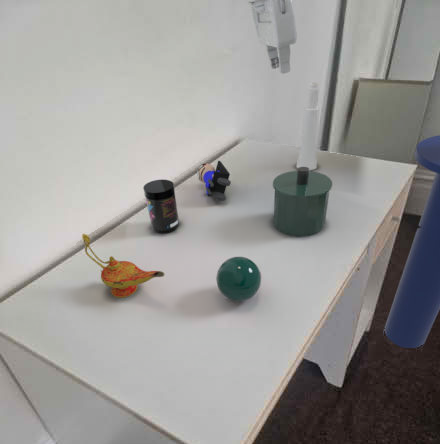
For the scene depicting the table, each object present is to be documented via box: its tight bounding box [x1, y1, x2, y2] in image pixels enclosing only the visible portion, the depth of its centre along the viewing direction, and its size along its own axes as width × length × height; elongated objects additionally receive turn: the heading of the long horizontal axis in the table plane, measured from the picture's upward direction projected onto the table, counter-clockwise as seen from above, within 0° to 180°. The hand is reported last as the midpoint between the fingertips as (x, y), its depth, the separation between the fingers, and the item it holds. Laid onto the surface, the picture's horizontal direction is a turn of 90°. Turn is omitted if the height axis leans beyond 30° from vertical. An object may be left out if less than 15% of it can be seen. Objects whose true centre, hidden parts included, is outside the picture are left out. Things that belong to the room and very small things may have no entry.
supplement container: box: [142, 179, 180, 234], centre depth 85 cm, size 7×7×10 cm
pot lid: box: [272, 167, 333, 198], centre depth 79 cm, size 13×13×4 cm
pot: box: [273, 189, 330, 237], centre depth 83 cm, size 12×12×10 cm
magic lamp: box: [81, 233, 165, 299], centre depth 68 cm, size 7×18×11 cm, turn 63°
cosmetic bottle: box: [295, 82, 320, 171], centre depth 103 cm, size 6×6×22 cm
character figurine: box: [196, 160, 232, 202], centre depth 98 cm, size 8×7×15 cm
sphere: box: [215, 256, 262, 302], centre depth 66 cm, size 8×8×8 cm
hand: (280, 70), depth 76 cm, fingers open, 8 cm apart
